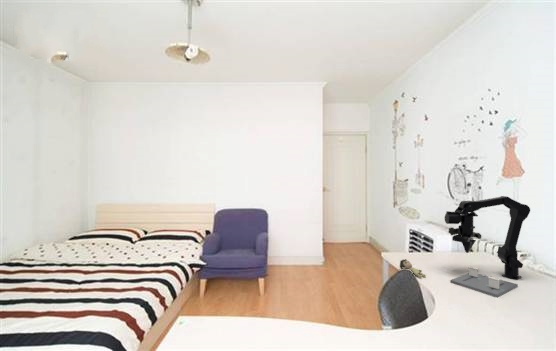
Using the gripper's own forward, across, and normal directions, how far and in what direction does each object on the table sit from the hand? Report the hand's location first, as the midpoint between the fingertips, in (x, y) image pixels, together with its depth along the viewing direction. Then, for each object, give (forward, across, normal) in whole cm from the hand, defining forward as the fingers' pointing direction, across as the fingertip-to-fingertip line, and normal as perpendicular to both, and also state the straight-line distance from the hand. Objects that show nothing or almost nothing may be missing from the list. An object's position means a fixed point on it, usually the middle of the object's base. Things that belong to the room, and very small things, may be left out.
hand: (467, 252), depth 150 cm
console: (+12, +8, +11) cm, 18 cm away
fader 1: (+10, +4, +5) cm, 12 cm away
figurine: (+12, +24, -17) cm, 32 cm away
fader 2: (+10, +12, +17) cm, 23 cm away
